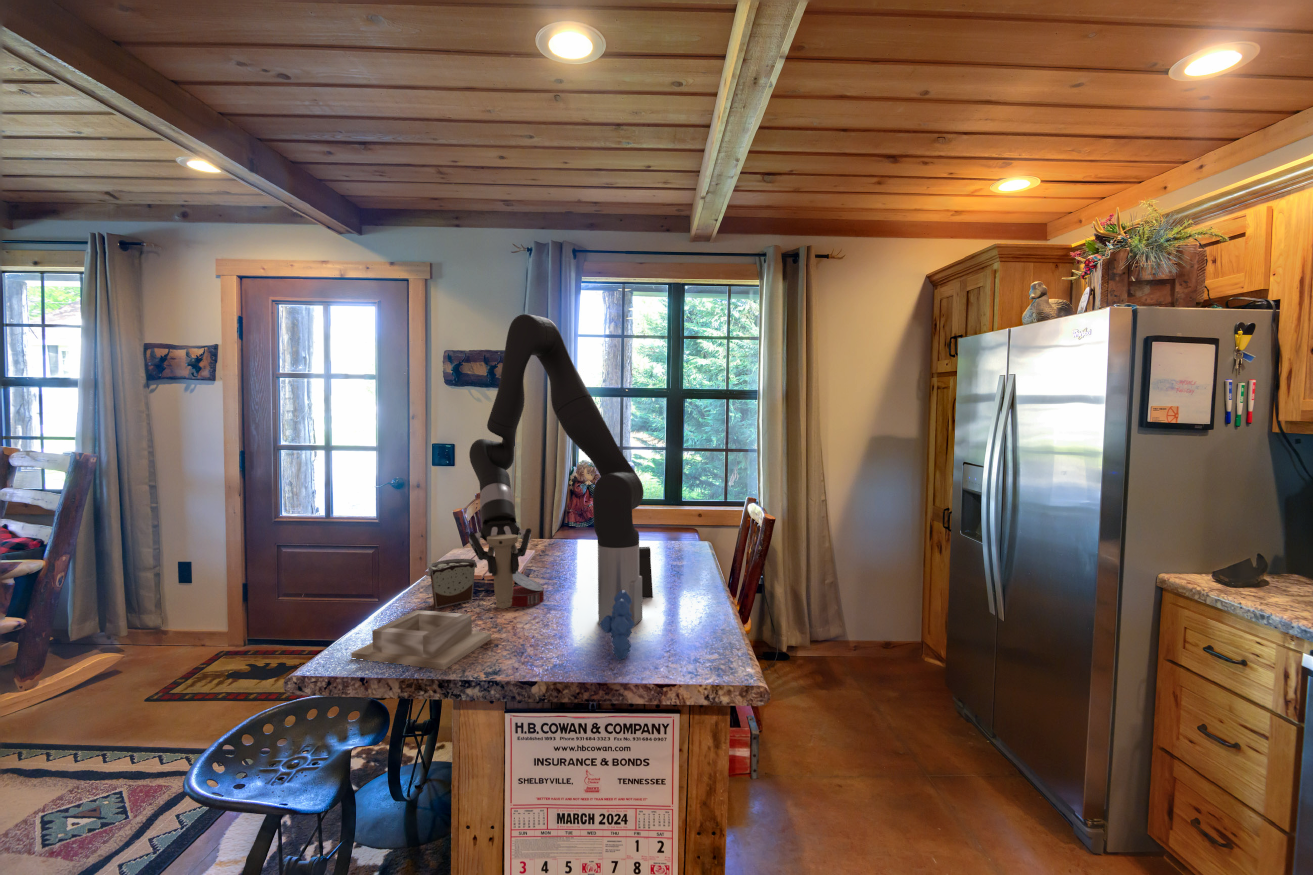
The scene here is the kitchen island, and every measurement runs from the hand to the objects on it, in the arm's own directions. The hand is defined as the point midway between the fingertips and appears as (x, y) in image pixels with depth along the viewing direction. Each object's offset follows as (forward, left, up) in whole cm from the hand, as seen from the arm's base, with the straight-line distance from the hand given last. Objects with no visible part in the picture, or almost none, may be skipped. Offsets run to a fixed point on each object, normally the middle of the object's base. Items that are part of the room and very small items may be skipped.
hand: (504, 572), depth 126 cm
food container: (+25, -18, -13) cm, 33 cm away
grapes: (-27, +5, -13) cm, 30 cm away
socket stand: (+11, +11, -13) cm, 21 cm away
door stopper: (-19, -36, -13) cm, 42 cm away
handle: (+1, -2, -8) cm, 8 cm away
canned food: (+7, -23, -13) cm, 27 cm away
